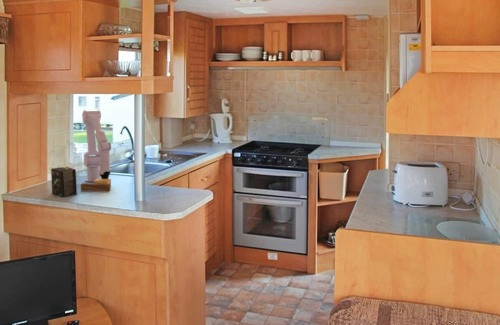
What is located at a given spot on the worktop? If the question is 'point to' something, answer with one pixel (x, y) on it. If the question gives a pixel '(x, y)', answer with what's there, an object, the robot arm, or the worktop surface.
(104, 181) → the block
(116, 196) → the worktop surface
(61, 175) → the tampon box
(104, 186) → the brown wooden bar
